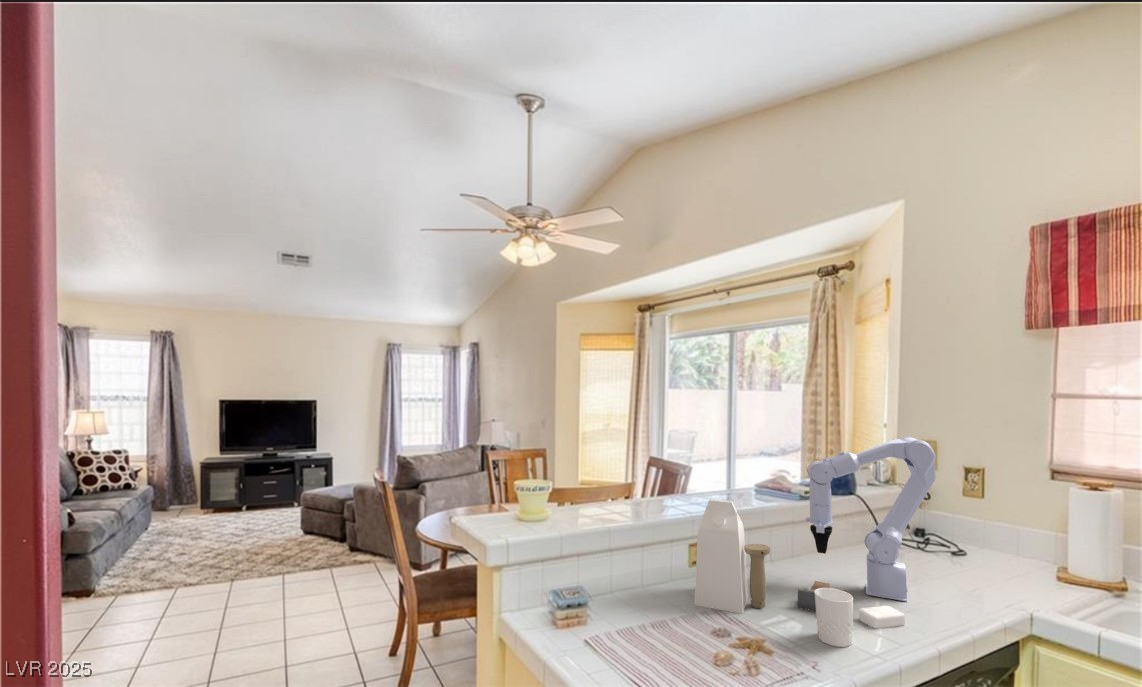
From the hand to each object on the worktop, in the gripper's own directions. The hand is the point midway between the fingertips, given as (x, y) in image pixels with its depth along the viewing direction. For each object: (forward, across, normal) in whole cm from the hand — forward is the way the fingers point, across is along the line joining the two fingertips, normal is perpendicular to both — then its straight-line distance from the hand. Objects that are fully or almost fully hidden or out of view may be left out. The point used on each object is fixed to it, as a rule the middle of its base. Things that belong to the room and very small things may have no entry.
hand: (821, 552), depth 150 cm
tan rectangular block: (+10, +11, 0) cm, 15 cm away
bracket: (+9, +15, 0) cm, 18 cm away
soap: (+10, +18, +14) cm, 24 cm away
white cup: (+10, +33, +3) cm, 35 cm away
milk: (+10, +24, -24) cm, 35 cm away
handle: (+10, +23, -14) cm, 29 cm away
